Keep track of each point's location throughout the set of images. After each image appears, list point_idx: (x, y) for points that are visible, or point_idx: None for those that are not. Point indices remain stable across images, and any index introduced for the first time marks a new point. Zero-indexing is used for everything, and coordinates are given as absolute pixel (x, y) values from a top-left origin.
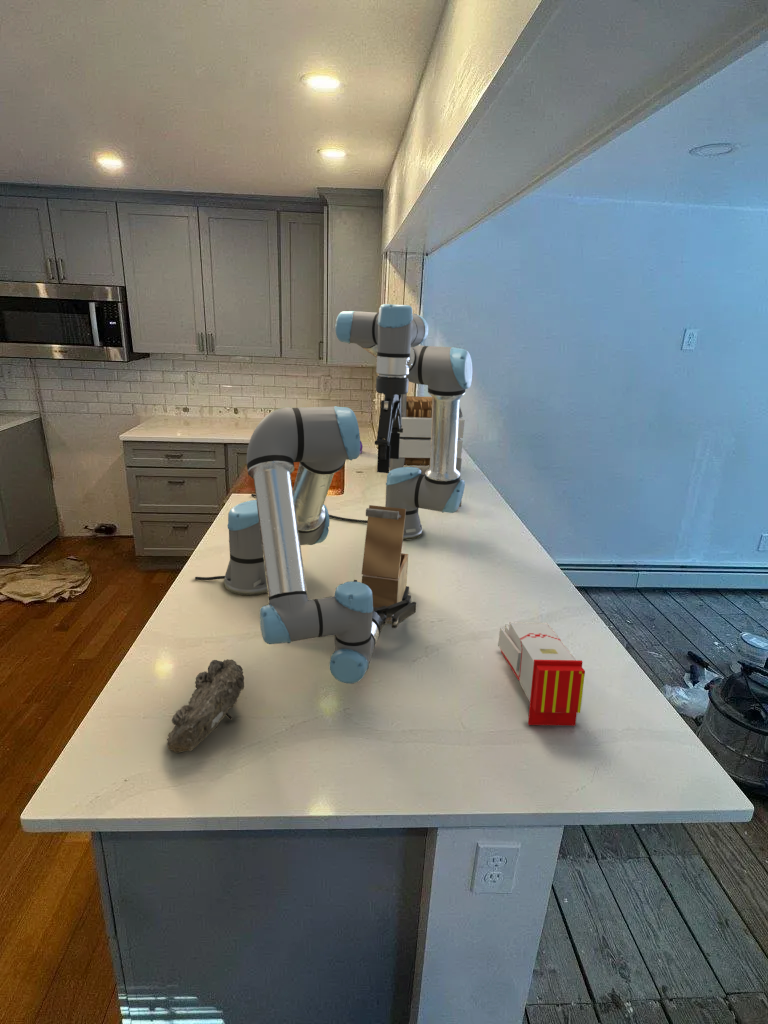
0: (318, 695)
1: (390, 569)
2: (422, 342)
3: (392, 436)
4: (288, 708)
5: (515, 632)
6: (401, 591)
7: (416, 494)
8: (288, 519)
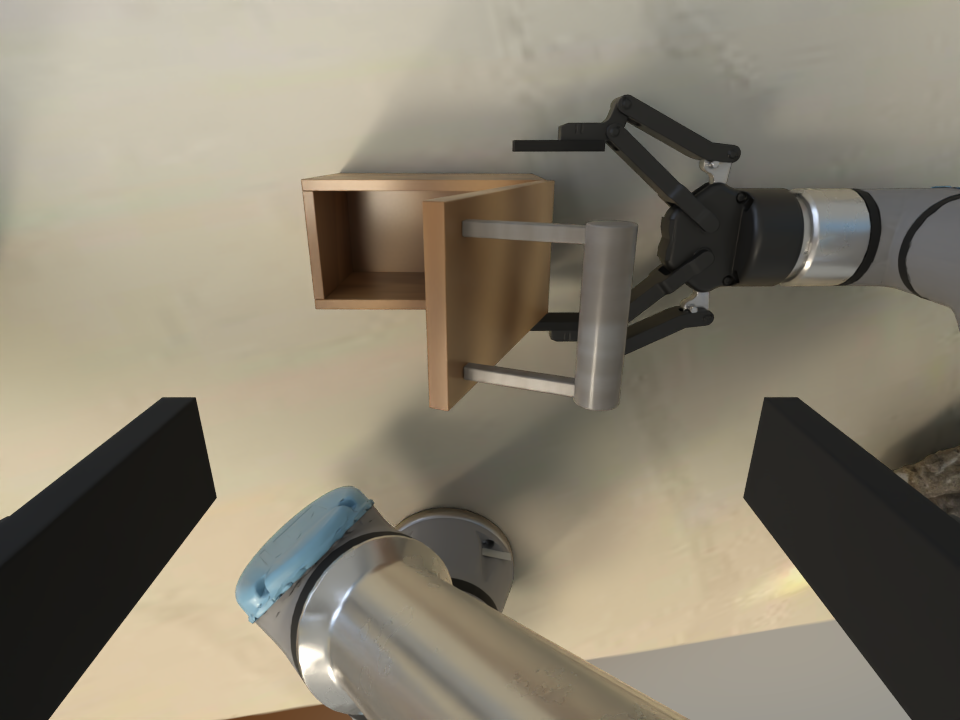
0: (890, 287)
1: (545, 216)
2: None
3: (22, 685)
4: (930, 332)
5: None
6: (446, 175)
7: None
8: None
